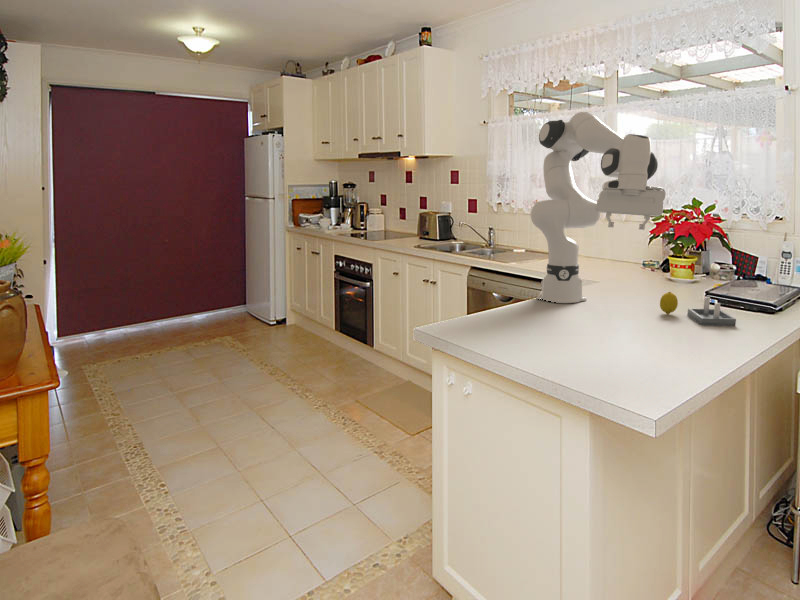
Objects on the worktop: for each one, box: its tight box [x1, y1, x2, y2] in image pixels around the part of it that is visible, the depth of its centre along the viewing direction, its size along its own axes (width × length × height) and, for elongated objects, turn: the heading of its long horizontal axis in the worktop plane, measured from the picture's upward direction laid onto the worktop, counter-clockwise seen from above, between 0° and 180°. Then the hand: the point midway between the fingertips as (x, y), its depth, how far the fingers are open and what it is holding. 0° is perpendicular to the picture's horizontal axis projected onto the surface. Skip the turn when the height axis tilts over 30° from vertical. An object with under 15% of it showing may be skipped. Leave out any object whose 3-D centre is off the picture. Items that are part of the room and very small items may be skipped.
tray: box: [686, 296, 737, 327], centre depth 181 cm, size 14×10×7 cm
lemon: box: [659, 291, 679, 315], centre depth 191 cm, size 6×6×8 cm
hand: (626, 228), depth 179 cm, fingers open, 8 cm apart
